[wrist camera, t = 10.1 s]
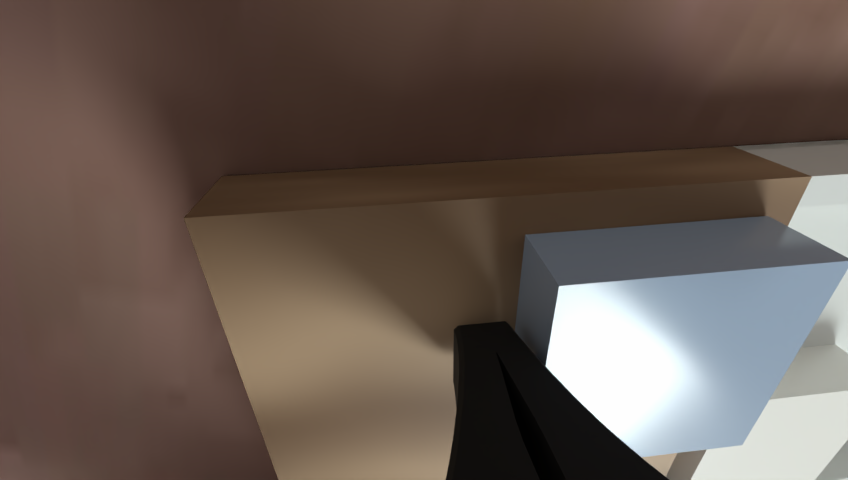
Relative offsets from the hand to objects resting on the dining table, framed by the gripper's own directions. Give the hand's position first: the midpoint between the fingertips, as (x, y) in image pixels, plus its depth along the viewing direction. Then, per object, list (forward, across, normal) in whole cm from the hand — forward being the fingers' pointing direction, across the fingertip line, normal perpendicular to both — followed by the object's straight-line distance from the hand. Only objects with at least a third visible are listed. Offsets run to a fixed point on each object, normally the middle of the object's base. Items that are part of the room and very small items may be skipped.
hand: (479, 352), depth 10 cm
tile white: (+3, -12, +7) cm, 14 cm away
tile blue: (+1, -4, 0) cm, 4 cm away
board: (+3, -1, +4) cm, 5 cm away
